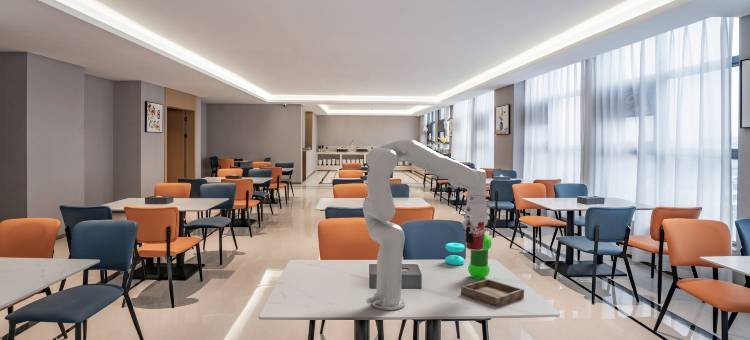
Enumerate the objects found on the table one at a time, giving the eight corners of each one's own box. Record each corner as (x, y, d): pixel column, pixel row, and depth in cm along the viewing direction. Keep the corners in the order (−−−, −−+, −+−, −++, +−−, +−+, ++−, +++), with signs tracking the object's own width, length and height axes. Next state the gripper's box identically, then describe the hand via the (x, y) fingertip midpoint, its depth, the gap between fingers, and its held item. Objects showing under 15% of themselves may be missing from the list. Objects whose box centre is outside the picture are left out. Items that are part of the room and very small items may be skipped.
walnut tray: (497, 307, 176) (497, 298, 175) (460, 294, 189) (461, 286, 189) (523, 298, 187) (524, 289, 187) (487, 286, 201) (487, 278, 201)
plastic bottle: (492, 276, 216) (494, 224, 215) (484, 282, 207) (486, 227, 206) (472, 273, 222) (474, 222, 220) (464, 278, 213) (465, 225, 211)
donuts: (446, 241, 245) (465, 243, 243) (445, 260, 246) (464, 261, 243) (444, 245, 235) (464, 247, 233) (444, 264, 236) (463, 266, 234)
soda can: (484, 251, 186) (484, 222, 186) (465, 250, 188) (466, 221, 187) (483, 247, 194) (483, 219, 193) (465, 246, 195) (466, 218, 194)
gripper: (470, 201, 181) (469, 245, 182) (496, 198, 192) (494, 240, 193) (455, 199, 186) (454, 242, 187) (481, 196, 198) (480, 237, 199)
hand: (474, 241), depth 190 cm, fingers closed on soda can, 7 cm apart
